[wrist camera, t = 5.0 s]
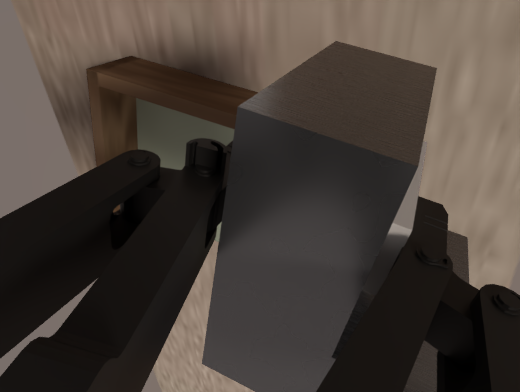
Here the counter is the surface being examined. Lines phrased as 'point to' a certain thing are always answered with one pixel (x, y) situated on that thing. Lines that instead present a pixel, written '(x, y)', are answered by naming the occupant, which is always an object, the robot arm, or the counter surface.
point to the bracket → (315, 216)
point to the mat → (174, 134)
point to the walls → (151, 100)
